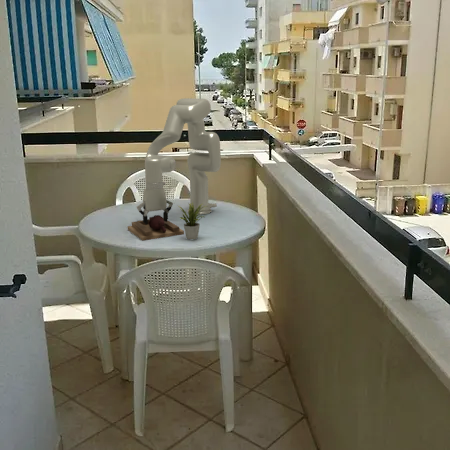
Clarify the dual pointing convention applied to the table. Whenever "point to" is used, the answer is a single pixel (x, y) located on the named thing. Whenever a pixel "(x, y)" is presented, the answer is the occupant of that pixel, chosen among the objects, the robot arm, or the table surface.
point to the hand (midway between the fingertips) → (155, 222)
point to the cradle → (153, 230)
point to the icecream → (157, 223)
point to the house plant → (191, 222)
